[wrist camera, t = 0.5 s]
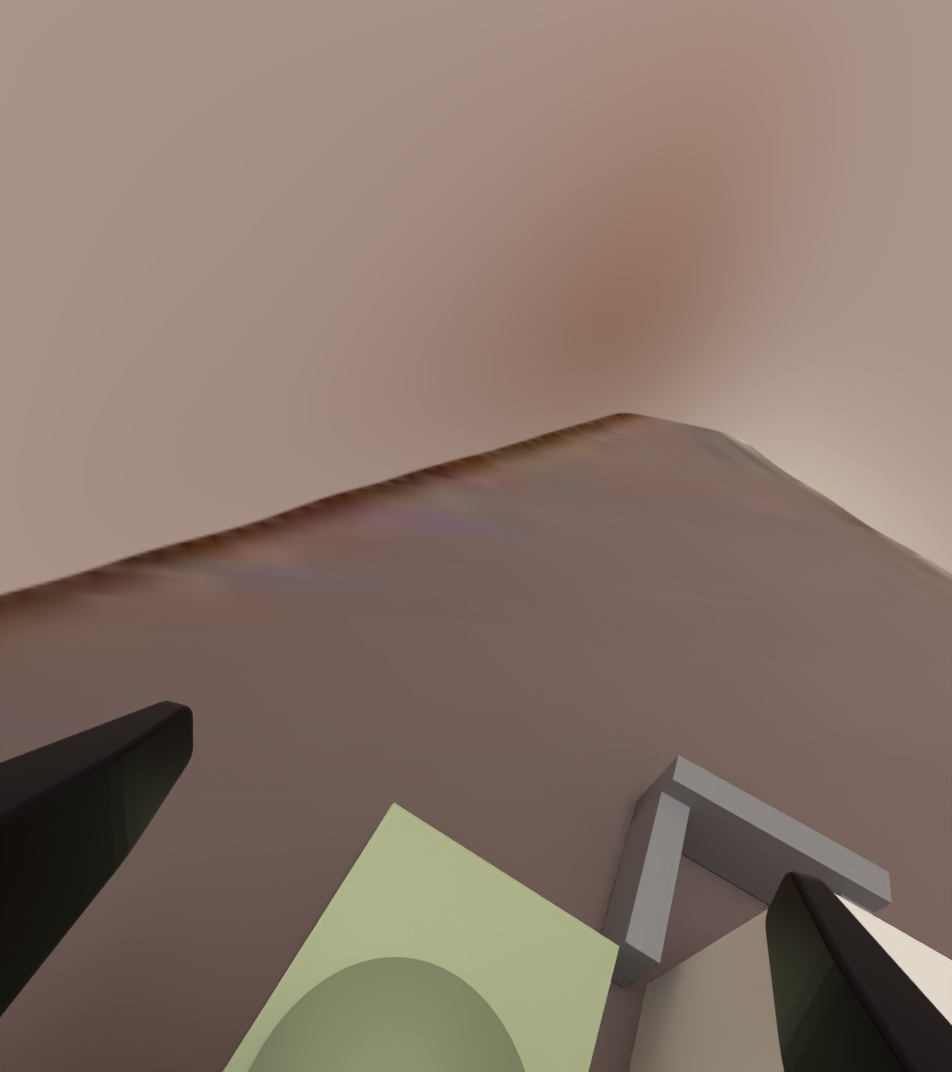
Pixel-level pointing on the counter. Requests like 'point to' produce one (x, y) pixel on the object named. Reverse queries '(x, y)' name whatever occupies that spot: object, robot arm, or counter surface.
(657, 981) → the white block
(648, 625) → the counter surface
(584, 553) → the counter surface
